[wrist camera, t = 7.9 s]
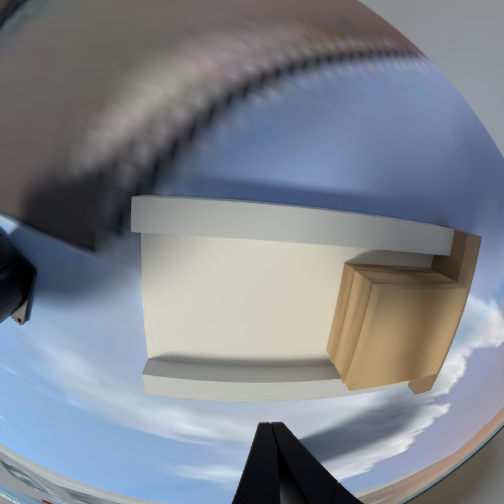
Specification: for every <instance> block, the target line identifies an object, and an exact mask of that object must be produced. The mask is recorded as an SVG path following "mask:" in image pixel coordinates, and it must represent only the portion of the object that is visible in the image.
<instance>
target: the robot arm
mask: <svg viewBox="0 0 504 504" xmlns="http://www.w3.org/2000/svg"><path fill="white" fill-rule="evenodd" d="M30 270H31V272H32V273H31V272H30ZM36 273H37V272H36V269H35V267H34V266H33V265H32V264H31V263H30V262H28V261H27V260H26V259H25V258H24V257H23V256H22V255H21V254H20V253H19V252H18V251H17V250H16V249H15V248H14V247H13V246H12V245H11V244H10V243H9V242H8V241H7V240H6V239H5V238H4V237H3V236H2V235H1V234H0V323H1V322H3V321H4V320H5V319H7V318H8V317H9V316H11V317H12V318H13V319H14V320H15V321H16V322H17V323H18V324H19V325H23V324H24V323H25V321H26V315H27V311H28V306H29V301H30V297H31V293H32V289H33V285H34V281H35V278H36ZM232 504H364V503H362V502H361V501H360V500H358V499H357V498H356V497H354V496H353V495H352V494H351V493H350V492H349V491H348V490H346V489H345V488H344V487H343V486H342V485H341V484H340V483H338V481H337V480H336V479H335V478H334V477H333V476H332V475H331V474H330V473H329V472H328V471H327V470H326V469H325V468H324V467H323V466H322V465H321V464H320V463H319V462H318V461H317V460H316V458H315V457H314V456H313V455H312V454H311V453H310V452H309V451H308V450H307V449H306V448H305V447H304V446H303V444H302V443H301V442H300V441H299V440H298V439H297V438H296V437H295V436H294V435H293V433H292V432H291V431H290V430H289V429H288V428H287V427H286V425H285V424H284V423H283V422H271V424H270V423H269V422H260V423H259V424H258V427H257V430H256V433H255V437H254V440H253V443H252V446H251V449H250V452H249V455H248V458H247V462H246V465H245V468H244V470H243V473H242V476H241V479H240V482H239V485H238V488H237V491H236V494H235V496H234V499H233V501H232Z"/></svg>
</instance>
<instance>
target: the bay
mask: <svg viewBox="0 0 504 504" xmlns="http://www.w3.org/2000/svg"><path fill="white" fill-rule="evenodd" d="M131 232H139V233H141V274H142V297H143V312H144V325H145V335H146V345H147V354H148V360H147V362H146V365H145V368H144V370H143V373H142V378H143V383H144V389H145V394H150V395H157V396H165V397H173V398H183V399H194V400H207V401H228V402H278V401H298V400H312V399H323V398H333V397H341V396H349V395H356V394H362V393H369V392H375V391H380V390H385V389H390V388H395V387H400V386H405V385H408V386H409V387H410V389H411V390H412V391H413V392H414V394H419V393H422V392H426V391H429V390H431V388H432V386H433V384H434V382H435V380H436V378H437V376H438V374H439V372H440V370H441V368H442V366H443V363H444V361H445V359H446V356H447V354H448V352H449V349H450V347H451V344H452V342H453V339H454V337H455V334H456V331H457V329H458V326H459V323H460V320H461V317H462V314H463V311H464V308H465V305H466V301H467V298H468V295H469V291H470V287H471V284H472V280H473V276H474V272H475V267H476V263H477V258H478V254H479V248H480V243H481V236H478V235H475V234H471V233H468V232H465V231H461V230H457V229H454V228H450V227H445V226H440V225H435V224H429V223H423V222H418V221H412V220H406V219H399V218H393V217H387V216H380V215H373V214H366V213H359V212H352V211H344V210H336V209H328V208H320V207H311V206H302V205H292V204H282V203H272V202H260V201H248V200H235V199H221V198H205V197H187V196H164V195H140V196H133V197H132V202H131ZM344 263H354V264H371V265H389V266H407V267H426V268H430V269H432V270H434V271H437V272H439V273H441V274H442V275H444V276H446V277H448V278H450V279H452V280H455V281H457V282H459V283H461V285H463V286H465V287H467V288H468V291H467V295H466V298H465V301H464V305H463V308H462V311H461V314H460V317H459V320H458V323H457V326H456V329H455V331H454V334H453V337H452V339H451V342H450V344H449V347H448V349H447V352H446V354H445V357H444V359H443V361H442V364H441V366H440V368H439V370H438V372H437V374H434V375H430V376H426V377H422V378H418V379H413V380H409V381H404V382H400V383H395V384H390V385H384V386H379V387H373V388H367V389H360V390H353V391H349V390H348V388H347V386H346V384H344V383H343V381H342V380H341V378H340V377H341V376H340V374H339V372H338V370H337V369H336V367H335V365H334V363H332V362H331V360H330V356H329V355H328V353H327V351H326V348H327V344H328V340H329V335H330V331H331V327H332V322H333V318H334V313H335V309H336V304H337V299H338V294H339V289H340V284H341V278H342V273H343V267H344Z"/></svg>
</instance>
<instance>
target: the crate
mask: <svg viewBox="0 0 504 504" xmlns="http://www.w3.org/2000/svg"><path fill="white" fill-rule="evenodd" d="M467 291H468V288H467V287H465V286H463V285H461V283H459V282H457V281H455V280H452V279H450V278H448V277H446V276H444V275H442V274H441V273H439V272H437V271H434V270H432V269H430V268H426V267H407V266H389V265H371V264H354V263H344V267H343V273H342V278H341V284H340V289H339V294H338V299H337V304H336V309H335V313H334V318H333V322H332V327H331V331H330V335H329V340H328V344H327V348H326V351H327V353H328V355H329V356H330V360H331V362H332V363H334V365H335V367H336V369H337V370H338V372H339V374H340V376H341V377H340V378H341V380H342V381H343V383H344V384H346V386H347V388H348V390H349V391H353V390H360V389H367V388H373V387H379V386H384V385H390V384H395V383H400V382H404V381H409V380H413V379H418V378H422V377H426V376H430V375H434V374H437V372H438V370H439V368H440V366H441V364H442V361H443V359H444V357H445V354H446V352H447V349H448V347H449V344H450V342H451V339H452V337H453V334H454V331H455V329H456V326H457V323H458V320H459V317H460V314H461V311H462V308H463V305H464V301H465V298H466V295H467Z"/></svg>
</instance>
